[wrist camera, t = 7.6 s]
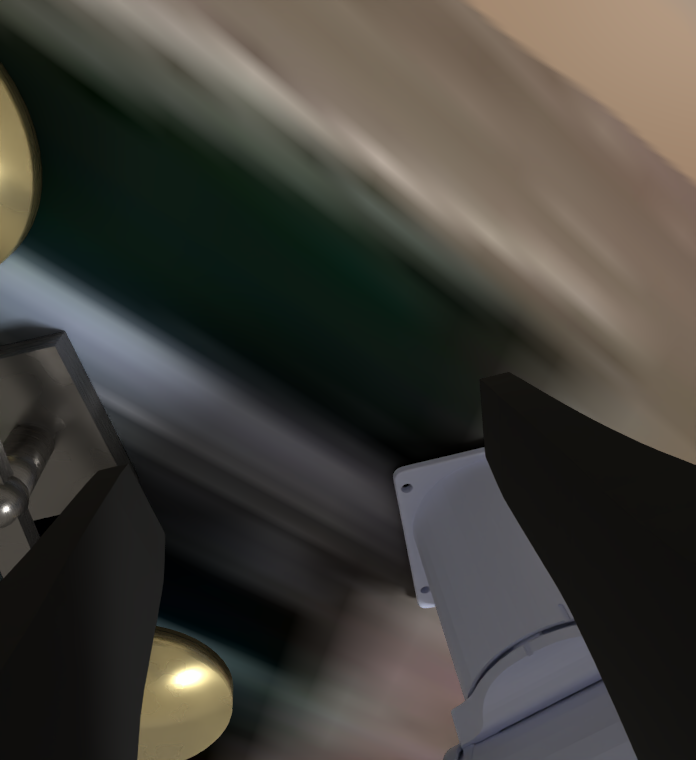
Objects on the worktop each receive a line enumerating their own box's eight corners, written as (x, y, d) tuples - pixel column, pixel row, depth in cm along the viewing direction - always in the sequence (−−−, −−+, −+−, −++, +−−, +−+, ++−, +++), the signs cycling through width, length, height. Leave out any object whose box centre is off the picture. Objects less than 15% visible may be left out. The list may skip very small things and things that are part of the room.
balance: (258, 632, 30) (257, 768, 24) (90, 673, 30) (50, 819, 24) (-58, -86, 14) (-261, -172, 9) (-411, -9, 14) (-847, -48, 9)
